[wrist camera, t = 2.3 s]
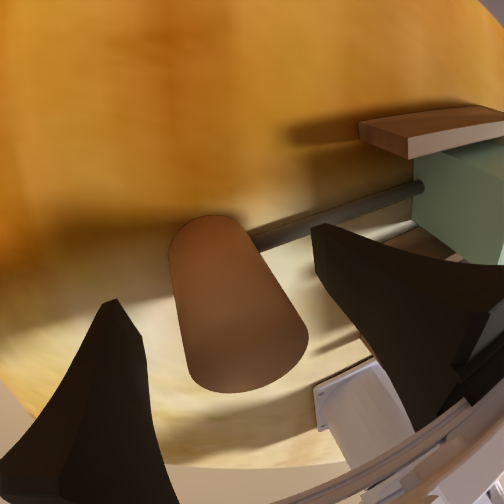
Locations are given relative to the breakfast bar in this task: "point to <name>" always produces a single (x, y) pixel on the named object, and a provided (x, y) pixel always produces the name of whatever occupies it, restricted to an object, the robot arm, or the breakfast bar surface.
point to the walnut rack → (426, 142)
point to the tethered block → (249, 248)
